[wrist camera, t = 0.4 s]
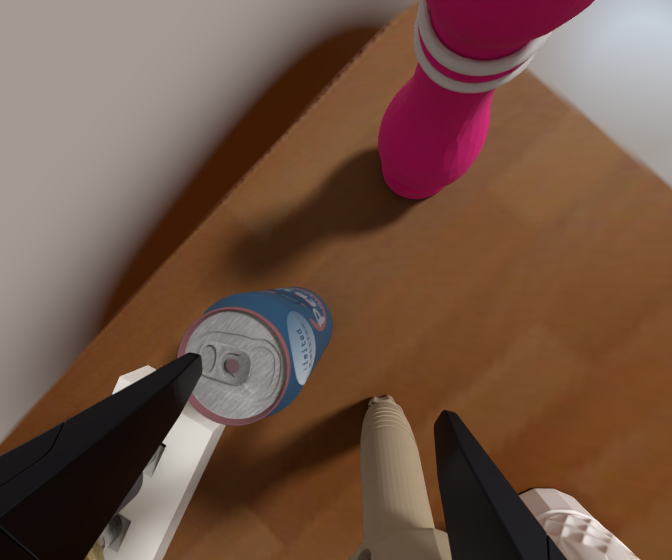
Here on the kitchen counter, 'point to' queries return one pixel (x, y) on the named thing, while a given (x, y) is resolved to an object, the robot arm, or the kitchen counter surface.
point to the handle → (395, 491)
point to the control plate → (164, 483)
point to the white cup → (573, 527)
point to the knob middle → (106, 539)
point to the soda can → (256, 352)
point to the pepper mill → (459, 85)
